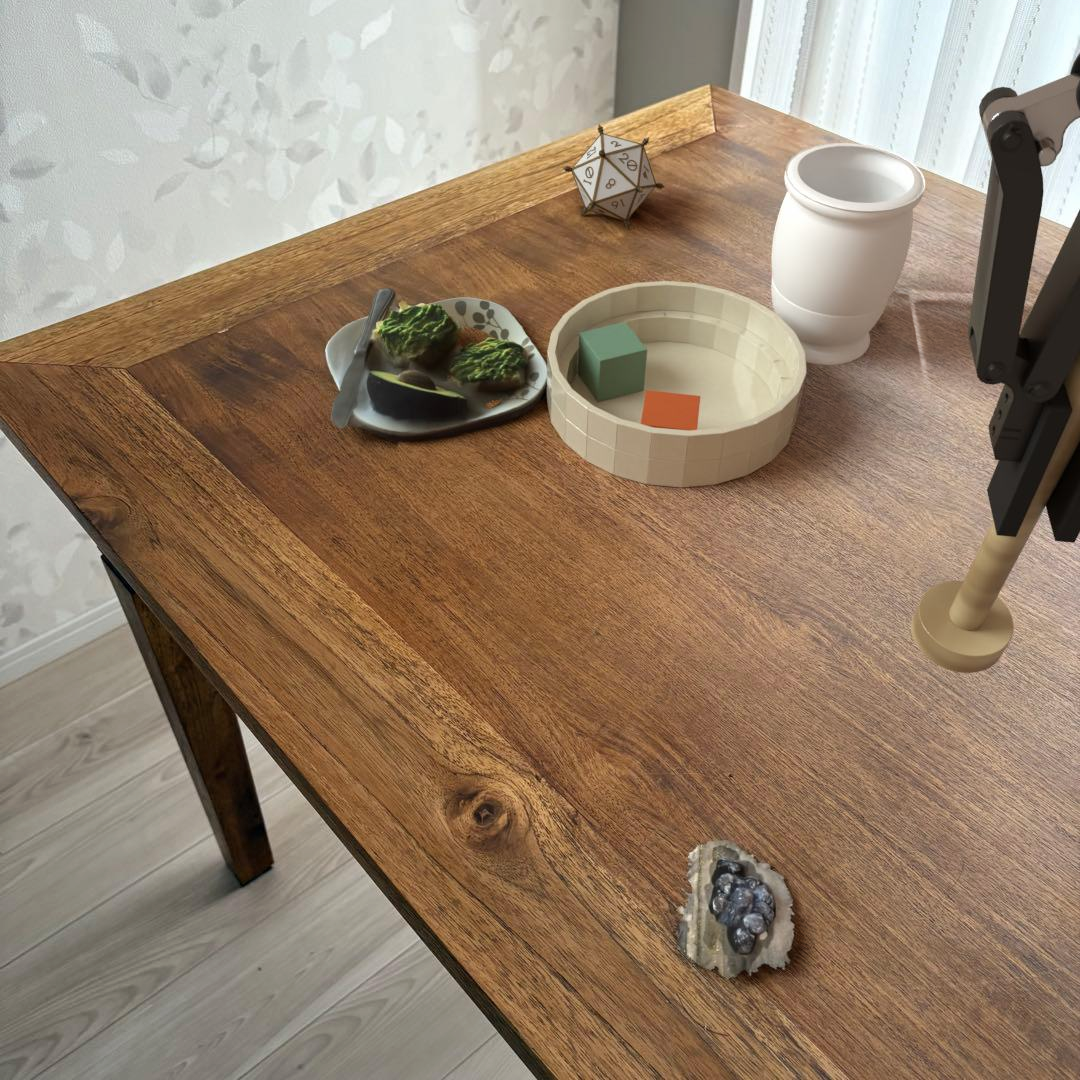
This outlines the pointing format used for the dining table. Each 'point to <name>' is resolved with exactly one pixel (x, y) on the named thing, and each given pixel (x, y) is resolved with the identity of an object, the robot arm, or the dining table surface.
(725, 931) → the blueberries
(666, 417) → the rust block
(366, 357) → the salad plate
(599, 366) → the sage block
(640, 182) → the game die
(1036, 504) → the stand
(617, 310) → the bowl
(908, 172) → the jar
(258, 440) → the dining table surface
